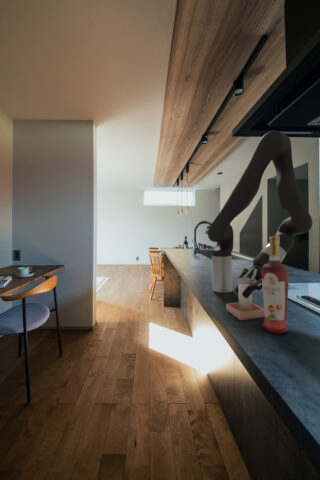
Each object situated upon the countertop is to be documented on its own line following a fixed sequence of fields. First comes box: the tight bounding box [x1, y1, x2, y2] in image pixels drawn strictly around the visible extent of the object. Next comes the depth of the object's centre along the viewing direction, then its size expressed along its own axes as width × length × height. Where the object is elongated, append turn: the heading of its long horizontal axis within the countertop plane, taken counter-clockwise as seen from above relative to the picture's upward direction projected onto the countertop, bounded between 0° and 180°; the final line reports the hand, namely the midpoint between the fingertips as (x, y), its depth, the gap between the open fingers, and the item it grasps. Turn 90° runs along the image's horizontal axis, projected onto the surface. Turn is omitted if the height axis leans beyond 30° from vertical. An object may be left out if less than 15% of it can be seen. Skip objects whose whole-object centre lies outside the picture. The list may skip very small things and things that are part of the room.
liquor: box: [261, 236, 290, 335], centre depth 66 cm, size 7×7×28 cm
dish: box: [225, 301, 264, 321], centre depth 81 cm, size 10×10×2 cm
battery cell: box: [237, 277, 253, 310], centre depth 80 cm, size 4×4×11 cm
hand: (240, 294), depth 80 cm, fingers closed on battery cell, 4 cm apart
